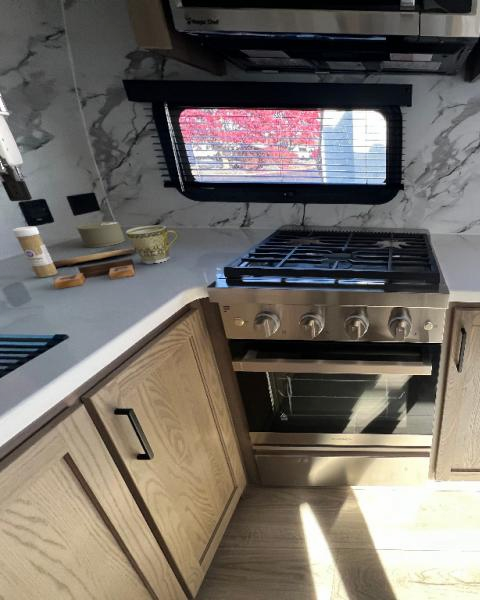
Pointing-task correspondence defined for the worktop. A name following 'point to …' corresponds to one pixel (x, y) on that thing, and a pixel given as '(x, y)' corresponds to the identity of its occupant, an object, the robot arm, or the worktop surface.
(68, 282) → the tile
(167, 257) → the ceramic cup
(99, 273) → the dark brown wooden block
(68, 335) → the worktop surface
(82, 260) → the wooden board
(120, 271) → the tile
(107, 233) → the olive green bowl
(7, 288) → the worktop surface
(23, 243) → the sprinkles bottle
